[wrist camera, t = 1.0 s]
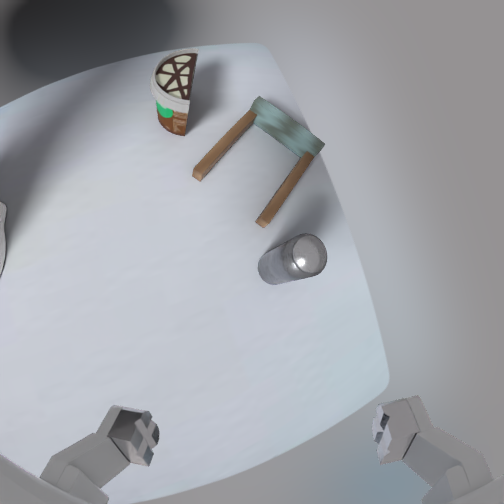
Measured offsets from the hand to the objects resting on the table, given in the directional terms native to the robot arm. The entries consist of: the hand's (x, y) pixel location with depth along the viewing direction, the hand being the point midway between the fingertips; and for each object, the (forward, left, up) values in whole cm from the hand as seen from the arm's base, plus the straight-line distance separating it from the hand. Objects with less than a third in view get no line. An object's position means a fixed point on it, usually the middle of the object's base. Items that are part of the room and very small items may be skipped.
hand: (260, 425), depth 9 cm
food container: (-24, +25, -30) cm, 46 cm away
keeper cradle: (-7, +26, -30) cm, 41 cm away
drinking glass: (+4, +14, -30) cm, 33 cm away
